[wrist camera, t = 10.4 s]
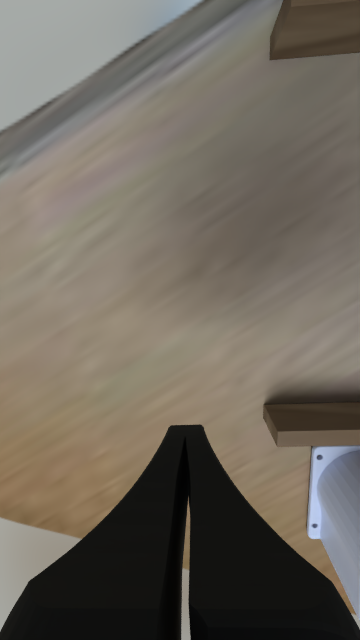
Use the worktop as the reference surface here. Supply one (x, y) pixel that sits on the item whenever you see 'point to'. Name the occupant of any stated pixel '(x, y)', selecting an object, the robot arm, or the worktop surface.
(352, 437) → the tray
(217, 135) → the worktop surface
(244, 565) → the robot arm
